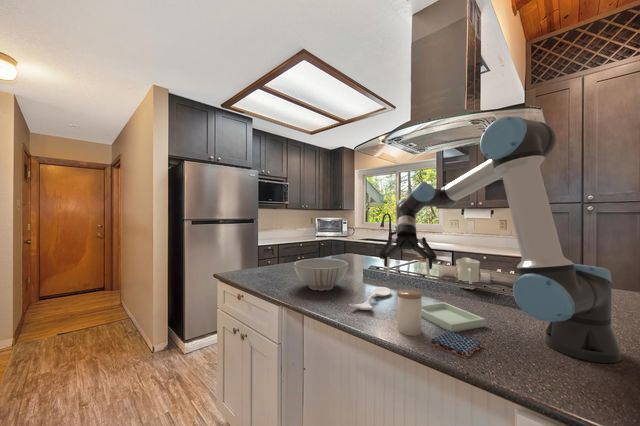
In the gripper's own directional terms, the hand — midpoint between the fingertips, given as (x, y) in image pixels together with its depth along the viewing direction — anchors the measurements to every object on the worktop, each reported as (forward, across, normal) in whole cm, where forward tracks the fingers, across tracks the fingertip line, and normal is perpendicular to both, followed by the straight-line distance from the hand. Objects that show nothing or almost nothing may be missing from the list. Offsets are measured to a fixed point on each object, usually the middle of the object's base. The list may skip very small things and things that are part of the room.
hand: (407, 275), depth 99 cm
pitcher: (-21, -29, -43) cm, 56 cm away
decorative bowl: (-11, +40, -33) cm, 53 cm away
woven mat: (+24, -12, +1) cm, 27 cm away
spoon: (+1, +13, -22) cm, 25 cm away
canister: (+18, 0, -3) cm, 19 cm away
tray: (+9, -13, -12) cm, 20 cm away
